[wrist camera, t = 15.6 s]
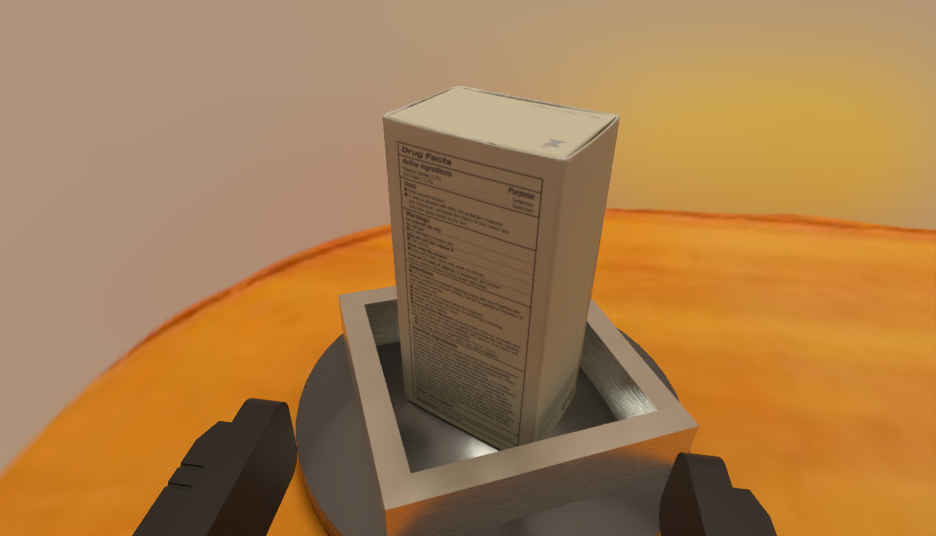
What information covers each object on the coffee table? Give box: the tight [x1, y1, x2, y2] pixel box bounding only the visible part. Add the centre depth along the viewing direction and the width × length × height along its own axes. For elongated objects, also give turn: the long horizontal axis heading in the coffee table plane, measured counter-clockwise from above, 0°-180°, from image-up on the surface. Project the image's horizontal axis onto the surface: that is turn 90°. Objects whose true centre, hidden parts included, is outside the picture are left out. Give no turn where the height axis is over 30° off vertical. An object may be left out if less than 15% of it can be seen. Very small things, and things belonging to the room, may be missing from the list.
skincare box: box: [383, 86, 619, 450], centre depth 20 cm, size 6×4×12 cm
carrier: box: [296, 286, 699, 536], centre depth 23 cm, size 16×16×4 cm
